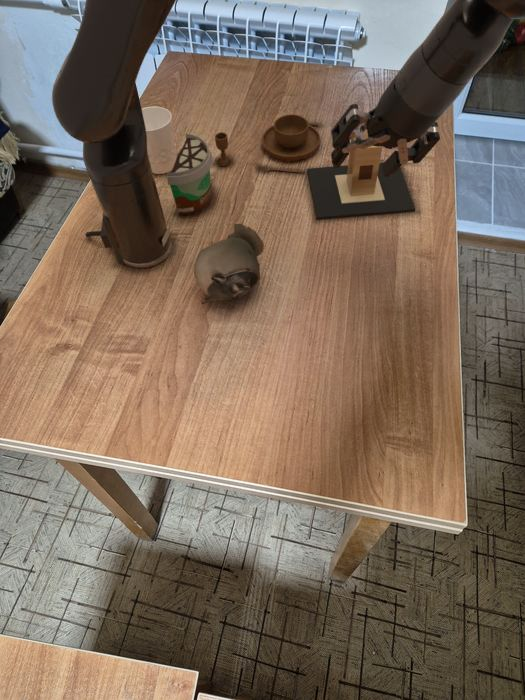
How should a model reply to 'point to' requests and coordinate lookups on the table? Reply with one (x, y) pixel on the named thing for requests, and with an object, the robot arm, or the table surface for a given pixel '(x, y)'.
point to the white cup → (160, 139)
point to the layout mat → (338, 203)
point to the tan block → (363, 169)
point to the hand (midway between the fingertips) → (359, 167)
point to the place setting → (281, 141)
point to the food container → (191, 176)
